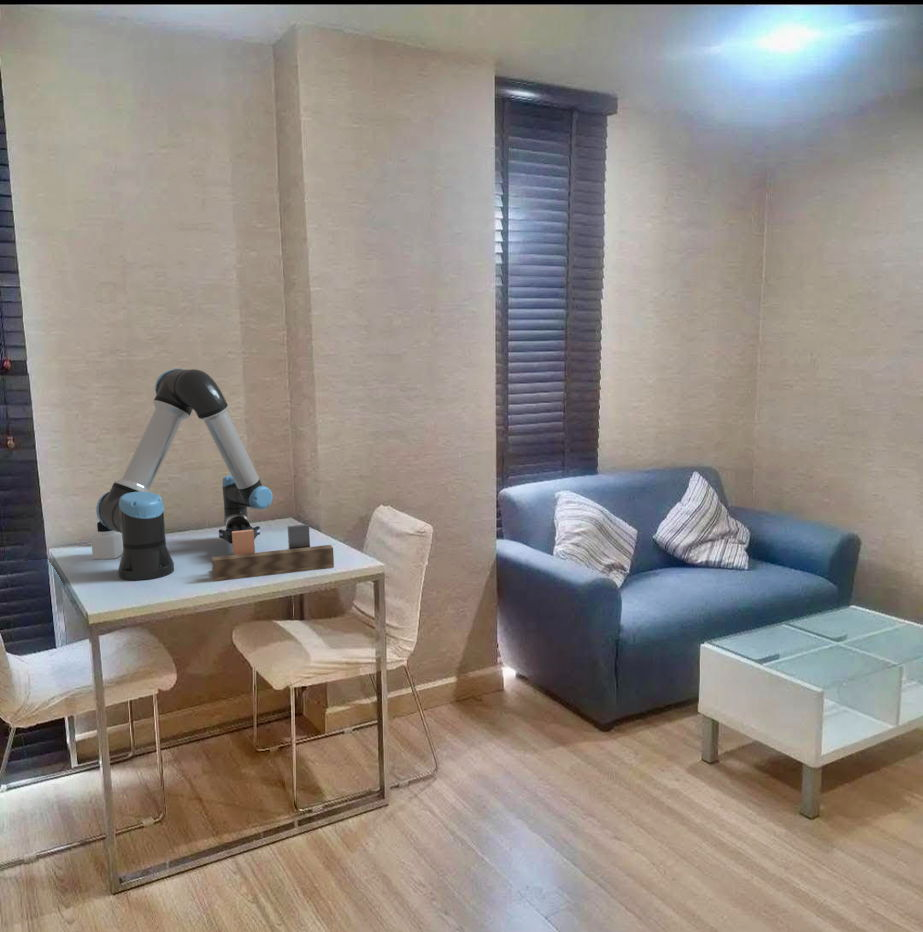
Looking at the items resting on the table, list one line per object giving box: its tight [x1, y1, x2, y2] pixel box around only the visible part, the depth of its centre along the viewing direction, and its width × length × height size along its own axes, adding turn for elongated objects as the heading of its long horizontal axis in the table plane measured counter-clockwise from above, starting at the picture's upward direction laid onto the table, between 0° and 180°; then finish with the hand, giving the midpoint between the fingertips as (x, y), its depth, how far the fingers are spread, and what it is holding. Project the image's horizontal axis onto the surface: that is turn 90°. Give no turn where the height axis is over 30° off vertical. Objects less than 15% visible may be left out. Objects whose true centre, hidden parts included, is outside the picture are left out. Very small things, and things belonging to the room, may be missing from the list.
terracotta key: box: [231, 530, 256, 555], centre depth 226 cm, size 6×2×11 cm, turn 111°
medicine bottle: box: [90, 519, 123, 560], centre depth 247 cm, size 7×7×12 cm
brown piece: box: [211, 544, 335, 582], centre depth 229 cm, size 34×12×6 cm, turn 111°
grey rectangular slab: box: [287, 523, 311, 549], centre depth 231 cm, size 6×2×11 cm, turn 111°
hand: (242, 543), depth 232 cm, fingers closed
